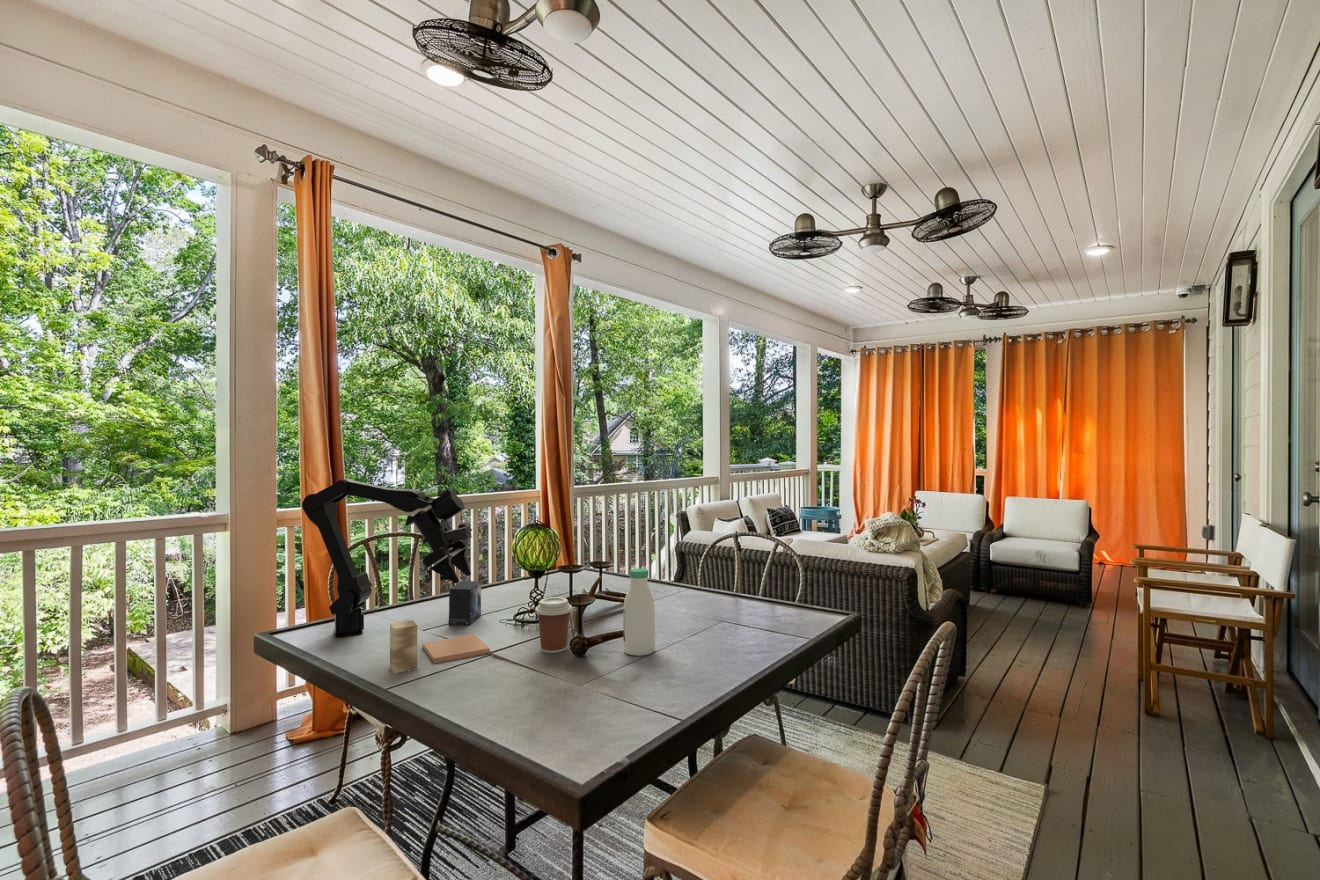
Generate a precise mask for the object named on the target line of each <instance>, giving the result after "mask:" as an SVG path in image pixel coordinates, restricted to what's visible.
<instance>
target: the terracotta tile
mask: <svg viewBox="0 0 1320 880" xmlns="http://www.w3.org/2000/svg"><path fill="white" fill-rule="evenodd" d="M421 644H422V645H421V646H422V647H421V648H422V649H423V651H424V652H425V653H426V655H427V657H429V659H430V661H433V662H432V663H433V664H438V663H442V662H448V661H453V660H460V659H464V658H470V657H475V656H480V655H481V656H482V655H486V653H487V654H490V647H489V646H487V644H485V642H484V641H483V640H481V639H480V638H479V636H477V635H476V634H469V635H463V636H462V635H461V636H458V637H457V636H456V637H449V638H444V639H438V640H431V641H426V642H422V643H421Z"/></svg>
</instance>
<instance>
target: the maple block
mask: <svg viewBox="0 0 1320 880" xmlns="http://www.w3.org/2000/svg"><path fill="white" fill-rule="evenodd" d="M389 668H390V670H391V669H392V670H391V672H392V671H393V672H392V674H393V673H396V674H399V673H398V672H402V673H404V672H403V671H407V672H409V671H408V670H412V671H415V670H414V669H417V670H418V623H416V622H415V620H414V619H412V620H404V621H399V622H398V621H396V622H390V623H389Z"/></svg>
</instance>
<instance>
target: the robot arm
mask: <svg viewBox="0 0 1320 880" xmlns="http://www.w3.org/2000/svg"><path fill="white" fill-rule="evenodd" d="M347 496H353V497H355V498H356V497H357V498H362V499H365V500H366V499H367V500H372V501H376V502H380V503H386V504H388V505H390V506H391V507H392V508H395V509H397V510H399V511H402V512H405V513H412V512H416V511H418V512H416V513H415V514H414V515H413V514H408V515H407V516H406V521H405V523H404V526H406V527H407V526H412V525H413V524H414V525H415V527H416V529H417V530H418V532H419V533H420V535H421V536H422V537H423V539H422V540H421V542H422V543H423V544H424V545H425V544H427V545H428V548H430V551H431V552H429V553H428V554H427V555H425V556H424V557H423V558H422V565H423V566H424V567H425V569H428V568H429V570H430V571H433V572H435V573H436V574H439V575H440V576H442V577H444V578H445V579H447V580H449V581H450V582H453V583H454V584H458V583H459V582H460V579H459V577H458V575H457V572H456V571H455V568H457V569H458V570H459V571H460V572H461V573H463V574H464V575H465V576H467V577H469V576H470V575H471V574H472V572H471V569H470V565H469V562H468V558H467V552H468V550H469V545H470V543H469V542H468V539H469V538H472V531H473V528H471V526H470V525H468V524H467V523H466V522H464V523H461V524H458V526H457V528H454V529H452V530H451V529H450V528H449V527H448V526H443V523H441V521H442V520H443V521H445V522H447V521H449V520H450V519H451V518H453V517H455V516H457V515H458V514H459V513H461V512H462V511H464V510H465V507H466V506H465V504H464V502H463V500H462V499H461V498H460V497H459V495H457V494H456V493H454V492H453V490H452V489H447V490H446V491H444V492H443V493H442V494H440V495H439V496H437V497H436V498H435V497H432V496H428V495H426V494H425V492H424V491H423V490H421V489H417V488H416V489H414V488H412V489H411V488H390V487H386V486H381V485H378V484H377V485H376V484H373V483H369V482H368V483H367V482H363V481H358V480H354V479H352V478H342V479H339V480H337V481H336V482H334V483H333V484H331V485H329V486H327V487H326V488H324V489H322V490H320V491H318V492H316V493H310V494H308V495H306V496H305V497H304V499H303V501H302V502H301V509H302V510H303V512H304V514H305V516H306V517H307V518H308V520H309V521H310V522H312V523H313V524H314V526H315V527H316V528H317V529H318V531H319V533H320V536H321V539H322V541H323V543H324V546H325V548H326V550H327V551H326V552H327V553H328V556H329V558H330V561H331V564H332V566H333V568H334V571H335V573H336V576H337V584H336V590H337V596H338V598H337V599H335V601H333V602H332V604H331V605H329V611H330V613H331V615H334V629H333V634H334V637H335V638H343V637H349V636H354V635H355V636H356V635H361V634H363V632H364V631H363V630H364V629H365V614H364V613H363V612H362V611H363V610H362V607H364V606H365V604H366V601H367V600H368V599H370V596H371V595H372V586H373V583H371V581H370V579H369V575H368V572H363V573H361V572H360V571H359V570H358V569H357V568H356V566H355V563H354V560H353V558H352V556H351V552H350V551H349V548H348V545H347V542H346V541H345V538H344V535H343V533H342V530H341V528H340V525H339V522H338V515H339V514H338V511H339V509H338V503H340V502H342V501H343V500H344V499H345V498H346V497H347ZM426 508H428V510H426V511H425V510H422V509H426ZM453 566H454V567H455V568H454V567H453Z"/></svg>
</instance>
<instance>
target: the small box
mask: <svg viewBox="0 0 1320 880" xmlns="http://www.w3.org/2000/svg"><path fill="white" fill-rule="evenodd" d="M448 590H449V592H448V594H449V595H448V597H449V598H448V626H471V625H472V624H473V623H474V622H475V621H476V620H477V618H478V617H479V616H480V615H481V616H482V581H478V580H477V581H475V580H460V581H459V582H458V583H455V584H454V585H453V586H451V587H449V588H448ZM481 616H480V617H481ZM480 617H479V618H480ZM479 618H478V619H479ZM471 623H472V624H471Z"/></svg>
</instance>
